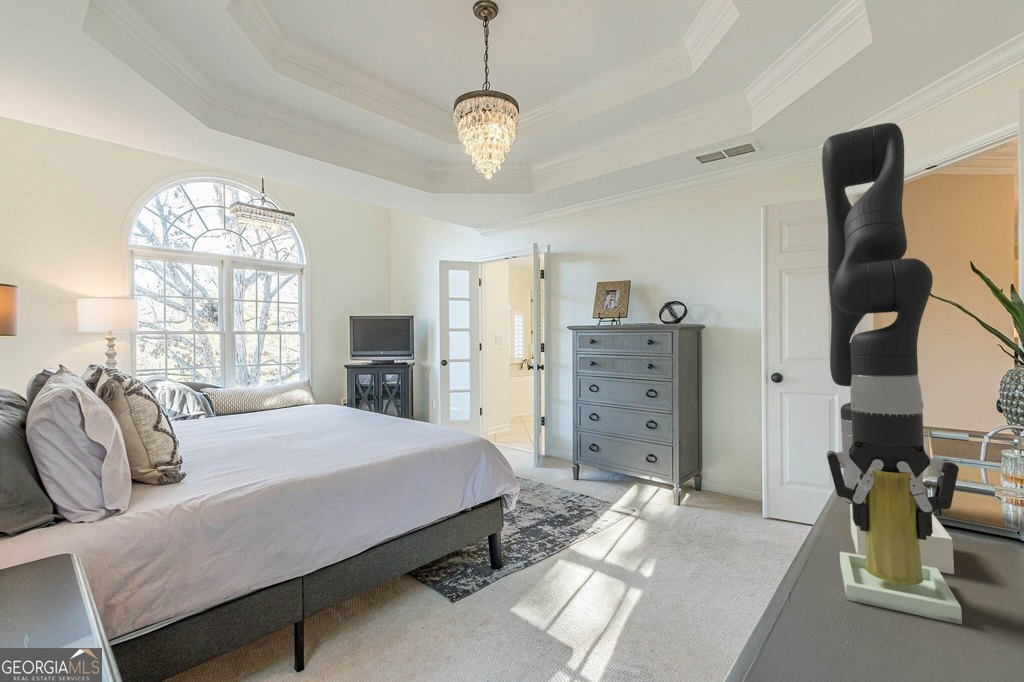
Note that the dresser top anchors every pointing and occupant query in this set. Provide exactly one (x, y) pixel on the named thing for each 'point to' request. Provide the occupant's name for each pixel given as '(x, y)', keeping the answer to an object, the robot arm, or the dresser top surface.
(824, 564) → the dresser top surface
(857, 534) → the sleeve
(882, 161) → the robot arm
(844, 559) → the tray
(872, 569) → the vase
